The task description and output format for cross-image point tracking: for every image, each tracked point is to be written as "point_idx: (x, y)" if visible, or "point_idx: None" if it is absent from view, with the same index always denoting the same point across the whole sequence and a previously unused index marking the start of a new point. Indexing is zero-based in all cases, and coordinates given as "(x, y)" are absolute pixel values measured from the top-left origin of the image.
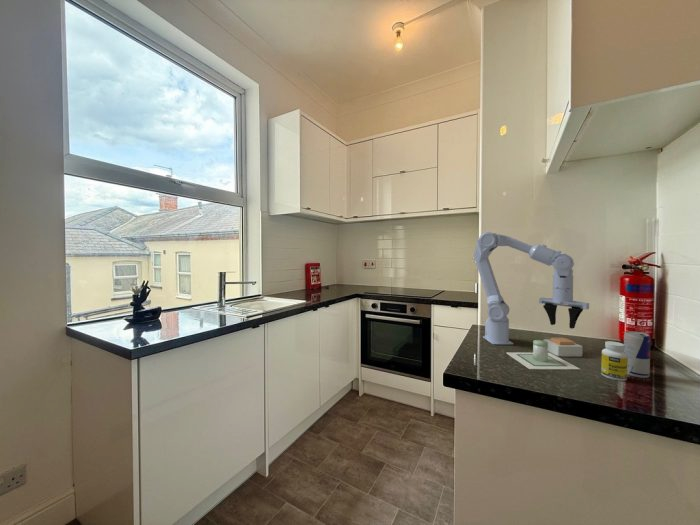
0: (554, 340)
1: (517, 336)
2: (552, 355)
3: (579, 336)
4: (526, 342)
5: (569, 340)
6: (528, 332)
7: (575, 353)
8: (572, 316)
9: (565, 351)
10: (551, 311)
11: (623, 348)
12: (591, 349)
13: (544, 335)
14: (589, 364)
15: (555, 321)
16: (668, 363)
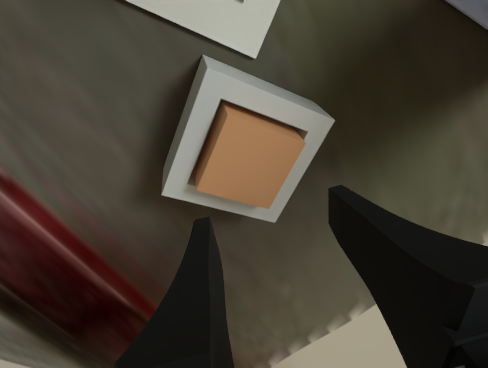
0: (272, 128)
1: (467, 152)
2: (217, 23)
3: (316, 335)
4: (406, 111)
5: (222, 188)
6: None
7: (173, 145)
8: (178, 297)
9: (190, 100)
10: (404, 265)
11: None
12: None
13: None
14: (62, 92)
15: (338, 239)
16: (35, 346)
